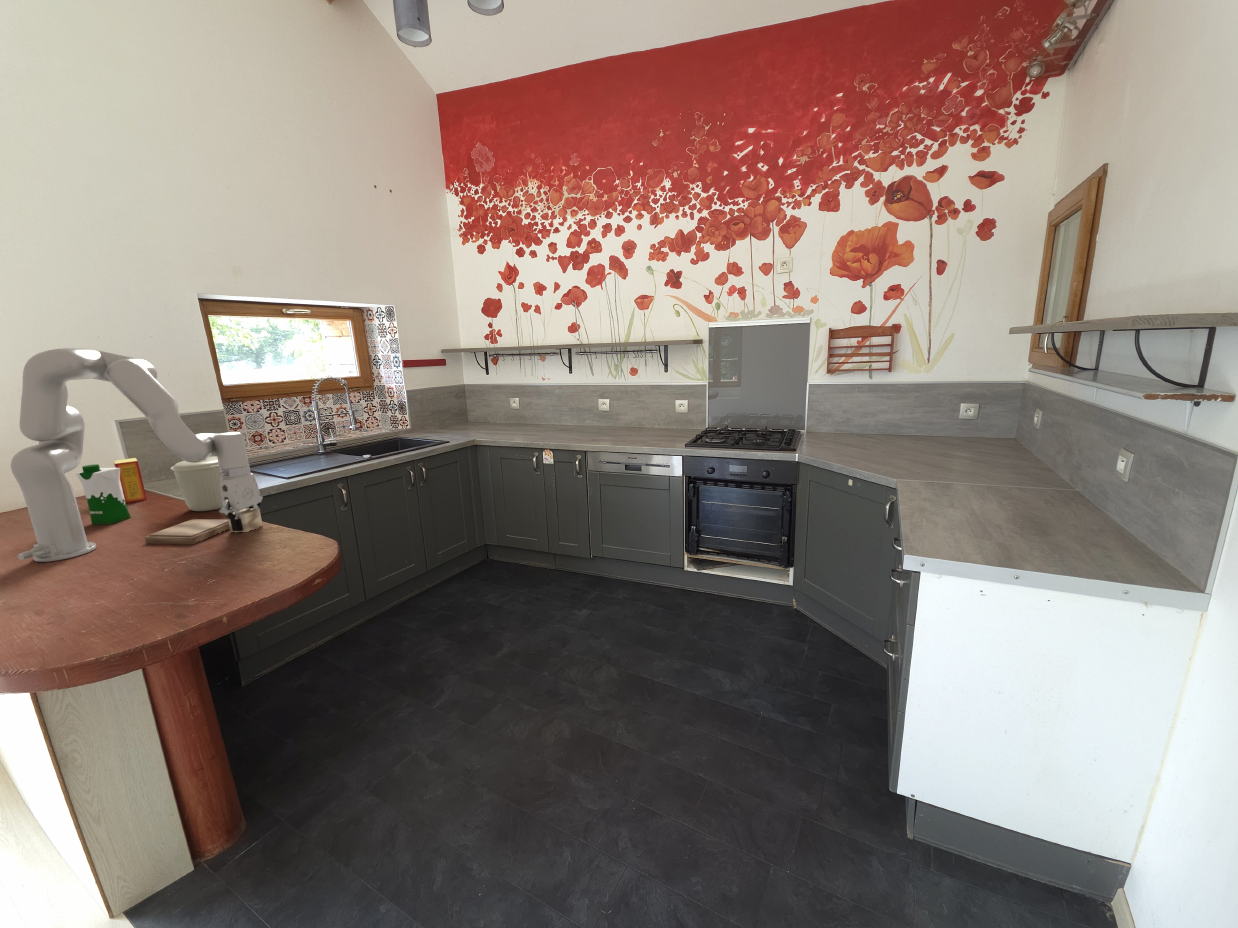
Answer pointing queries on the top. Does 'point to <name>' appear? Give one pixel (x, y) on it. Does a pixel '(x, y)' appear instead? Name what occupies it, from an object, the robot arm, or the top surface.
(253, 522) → the cube
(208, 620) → the top surface
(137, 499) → the baking soda box
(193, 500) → the canister
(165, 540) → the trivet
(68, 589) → the top surface
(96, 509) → the milk carton
